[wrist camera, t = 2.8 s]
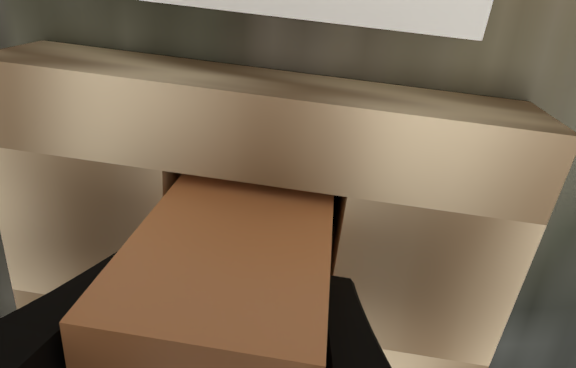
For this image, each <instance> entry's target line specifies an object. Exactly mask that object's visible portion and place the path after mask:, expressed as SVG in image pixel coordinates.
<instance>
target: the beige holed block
mask: <svg viewBox="0 0 576 368" xmlns="http://www.w3.org/2000/svg"><path fill="white" fill-rule="evenodd" d="M575 155H576V132H575V131H573V130H572V129H570V128H569V127H567V126H566V125H564V124H563V123H561V122H560V121H558V120H557V119H555V118H554V117H552V116H551V115H549V114H548V113H546V112H545V111H543V110H542V109H540V108H539V107H537V106H536V105H534V104H533V103H531V102H529V101H521V100H513V99H505V98H497V97H489V96H481V95H473V94H465V93H457V92H449V91H441V90H433V89H426V88H418V87H410V86H402V85H394V84H386V83H378V82H370V81H362V80H354V79H346V78H338V77H330V76H322V75H314V74H306V73H298V72H291V71H283V70H275V69H267V68H259V67H251V66H243V65H235V64H227V63H219V62H211V61H203V60H195V59H187V58H179V57H171V56H164V55H156V54H148V53H140V52H132V51H124V50H116V49H108V48H100V47H92V46H84V45H76V44H68V43H60V42H52V41H44V40H42V41H37V42H32V43H27V44H23V45H18V46H13V47H8V48H3V49H0V232H1V237H2V241H3V246H4V251H5V256H6V260H7V265H8V270H9V275H10V280H11V284H12V289H13V294H14V299H15V303H16V308H17V309H19V308H21V307H23V306H25V305H27V304H28V303H30V302H32V301H34V300H36V299H38V298H40V297H41V296H43V295H45V294H47V293H49V292H51V291H52V290H54V289H56V288H58V287H59V286H61V285H63V284H64V283H66V282H68V281H69V280H71V279H73V278H74V277H76V276H78V275H79V274H81V273H83V272H84V271H86V270H88V269H89V268H91V267H93V266H94V265H96V264H98V263H99V262H101V261H102V260H104V259H106V258H107V257H109V256H111V255H112V254H114V253H116V252H117V251H119V249H120V248H121V247H122V246H123V245H124V243H125V242H126V241H127V240H128V238H129V237H130V236H131V235H132V234H133V232H134V231H135V230H136V229H137V228H138V226H139V225H140V224H141V223H142V222H143V220H144V219H145V218H146V217H147V216H148V214H149V213H150V212H151V211H152V209H153V208H154V207H155V206H156V205H157V203H158V202H159V201H160V200H161V199H162V197H163V196H164V195H165V194H166V193H167V191H168V190H169V189H170V188H171V187H172V185H173V184H174V183H175V182H176V180H177V179H178V178H179V177H180V176H181V174H188V175H195V176H202V177H209V178H216V179H223V180H231V181H238V182H245V183H252V184H259V185H266V186H273V187H280V188H287V189H294V190H301V191H308V192H315V193H322V194H329V195H336V196H339V201H338V207H337V213H336V219H335V225H334V230H333V236H332V246H331V267H330V275H332V276H339V277H345V278H351V280H352V281H353V282H354V284H355V288H356V291H357V294H358V297H359V299H360V302H361V304H362V307H363V309H364V312H365V314H366V317H367V319H368V321H369V323H370V326H371V328H372V330H373V332H374V334H375V336H376V338H377V340H378V342H379V344H380V346H381V348H382V350H383V352H384V354H385V356H386V358H387V360H388V362H389V364H390V365H391V367H392V368H488V367H489V365H490V362H491V360H492V357H493V355H494V353H495V350H496V348H497V345H498V343H499V340H500V338H501V335H502V333H503V331H504V328H505V326H506V323H507V321H508V318H509V316H510V314H511V311H512V309H513V306H514V304H515V301H516V299H517V297H518V294H519V292H520V289H521V287H522V284H523V282H524V279H525V277H526V275H527V272H528V270H529V267H530V265H531V262H532V260H533V258H534V255H535V253H536V250H537V248H538V245H539V243H540V241H541V238H542V236H543V233H544V231H545V228H546V226H547V223H548V221H549V219H550V216H551V214H552V211H553V209H554V206H555V204H556V202H557V199H558V197H559V194H560V192H561V189H562V187H563V185H564V182H565V180H566V177H567V175H568V172H569V170H570V167H571V165H572V163H573V160H574V158H575Z"/></svg>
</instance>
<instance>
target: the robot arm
mask: <svg viewBox="0 0 576 368" xmlns="http://www.w3.org/2000/svg"><path fill="white" fill-rule="evenodd" d="M117 252H118V251H117ZM117 252H116V253H117ZM116 253H114V254H112V255H111V256H109V257H107V258H106V259H104V260H102V261H101V262H99V263H98V264H96V265H94V266H93V267H91V268H89V269H88V270H86V271H84V272H83V273H81V274H79V275H78V276H76V277H74V278H73V279H71V280H69V281H68V282H66V283H64V284H63V285H61V286H59V287H58V288H56V289H54V290H52V291H51V292H49V293H47V294H45V295H43V296H41V297H40V298H38V299H36V300H34V301H32V302H30V303H28V304H27V305H25V306H23V307H21V308H19V309H17V310H16V311H14V312H12V313H10V314H8V315H6V316H4V317H2V318H0V368H66V363H65V357H64V350H63V344H62V338H61V331H60V325H59V322H60V321H61V319H62V318H63V317H64V316H65V315H66V313H67V312H68V311H69V310H70V309H71V307H72V306H73V305H74V304H75V303H76V301H77V300H78V299H79V298H80V296H81V295H82V294H83V293H84V292H85V290H86V289H87V288H88V287H89V286H90V284H91V283H92V282H93V281H94V280H95V278H96V277H97V276H98V275H99V274H100V272H101V271H102V270H103V269H104V267H105V266H106V265H107V264H108V263H109V261H110V260H111V259H112V258H113V257H114V255H115V254H116ZM326 368H392V367H391V365H390V364H389V362H388V360H387V358H386V356H385V354H384V352H383V350H382V348H381V346H380V344H379V342H378V340H377V338H376V336H375V334H374V332H373V330H372V328H371V326H370V323H369V321H368V319H367V317H366V314H365V312H364V309H363V307H362V304H361V302H360V299H359V297H358V294H357V291H356V288H355V284H354V282H353V281H352V280H351V278H345V277H339V276H332V275H330V289H329V310H328V331H327V352H326Z"/></svg>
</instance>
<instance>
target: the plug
mask: <svg viewBox="0 0 576 368" xmlns="http://www.w3.org/2000/svg"><path fill="white" fill-rule="evenodd" d="M333 204H334V195H329V194H322V193H315V192H308V191H301V190H294V189H287V188H280V187H273V186H266V185H259V184H252V183H245V182H238V181H231V180H223V179H216V178H209V177H202V176H195V175H188V174H181V176H180V177H179V178H178V179H177V180H176V182H175V183H174V184H173V185H172V187H171V188H170V189H169V190H168V191H167V193H166V194H165V195H164V196H163V197H162V199H161V200H160V201H159V202H158V203H157V205H156V206H155V207H154V208H153V209H152V211H151V212H150V213H149V214H148V216H147V217H146V218H145V219H144V220H143V222H142V223H141V224H140V225H139V226H138V228H137V229H136V230H135V231H134V232H133V234H132V235H131V236H130V237H129V238H128V240H127V241H126V242H125V243H124V245H123V246H122V247H121V248H120V249H119V251H118V252H117V253H116V254H115V255H114V257H113V258H112V259H111V260H110V261H109V263H108V264H107V265H106V266H105V267H104V269H103V270H102V271H101V272H100V274H99V275H98V276H97V277H96V278H95V280H94V281H93V282H92V283H91V284H90V286H89V287H88V288H87V289H86V290H85V292H84V293H83V294H82V295H81V296H80V298H79V299H78V300H77V301H76V303H75V304H74V305H73V306H72V307H71V309H70V310H69V311H68V312H67V313H66V315H65V316H64V317H63V318H62V319H61V321H60V322H59V325H60V331H61V338H62V344H63V350H64V357H65V363H66V368H326V352H327V331H328V310H329V289H330V267H331V246H332V225H333Z"/></svg>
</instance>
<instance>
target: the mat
mask: <svg viewBox="0 0 576 368" xmlns="http://www.w3.org/2000/svg"><path fill="white" fill-rule="evenodd" d="M141 1H149V2H158V3H166V4H174V5H183V6H191V7H200V8H208V9H217V10H225V11H233V12H242V13H250V14H259V15H267V16H276V17H284V18H293V19H301V20H309V21H318V22H326V23H335V24H343V25H352V26H360V27H368V28H377V29H385V30H394V31H402V32H411V33H419V34H427V35H436V36H444V37H453V38H461V39H470V40H478V41H482V39H483V36H484V32H485V29H486V25H487V21H488V18H489V14H490V11H491V7H492V3H493V0H141Z"/></svg>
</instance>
